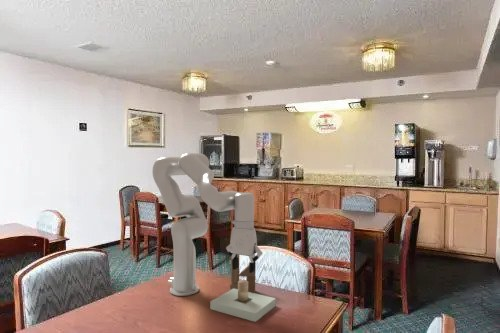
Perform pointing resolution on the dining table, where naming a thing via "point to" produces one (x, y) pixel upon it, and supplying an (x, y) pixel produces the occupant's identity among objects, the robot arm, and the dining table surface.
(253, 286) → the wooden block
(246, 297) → the peg
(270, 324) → the dining table surface
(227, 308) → the board
